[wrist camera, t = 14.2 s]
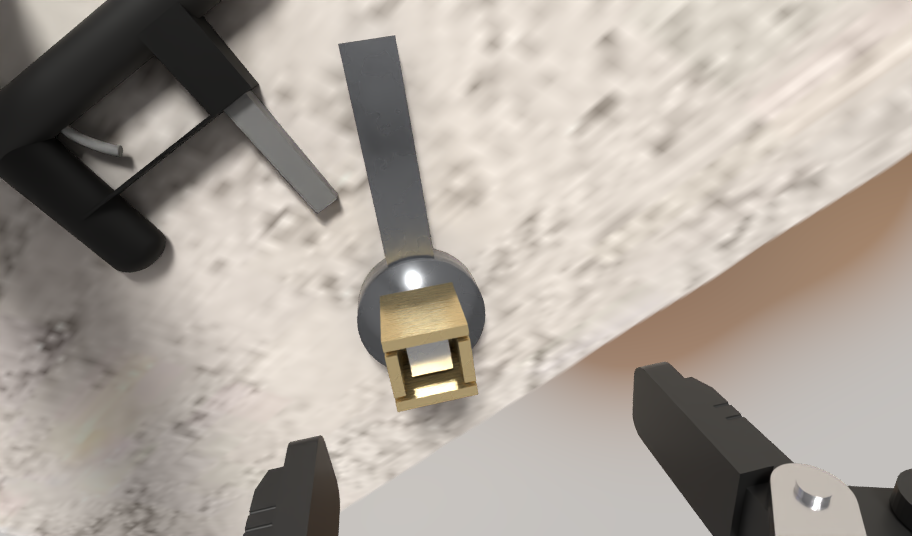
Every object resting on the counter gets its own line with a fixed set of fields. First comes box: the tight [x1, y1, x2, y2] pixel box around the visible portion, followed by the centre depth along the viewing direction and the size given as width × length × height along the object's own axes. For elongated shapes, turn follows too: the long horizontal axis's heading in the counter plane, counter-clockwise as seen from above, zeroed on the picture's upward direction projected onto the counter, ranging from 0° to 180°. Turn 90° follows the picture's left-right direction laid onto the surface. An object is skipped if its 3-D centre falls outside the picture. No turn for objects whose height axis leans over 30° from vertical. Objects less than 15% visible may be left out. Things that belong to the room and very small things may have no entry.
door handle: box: [0, 0, 338, 272], centre depth 28 cm, size 3×20×16 cm
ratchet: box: [338, 35, 485, 377], centre depth 30 cm, size 9×22×7 cm, turn 8°
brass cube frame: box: [380, 282, 478, 412], centre depth 31 cm, size 5×5×6 cm
